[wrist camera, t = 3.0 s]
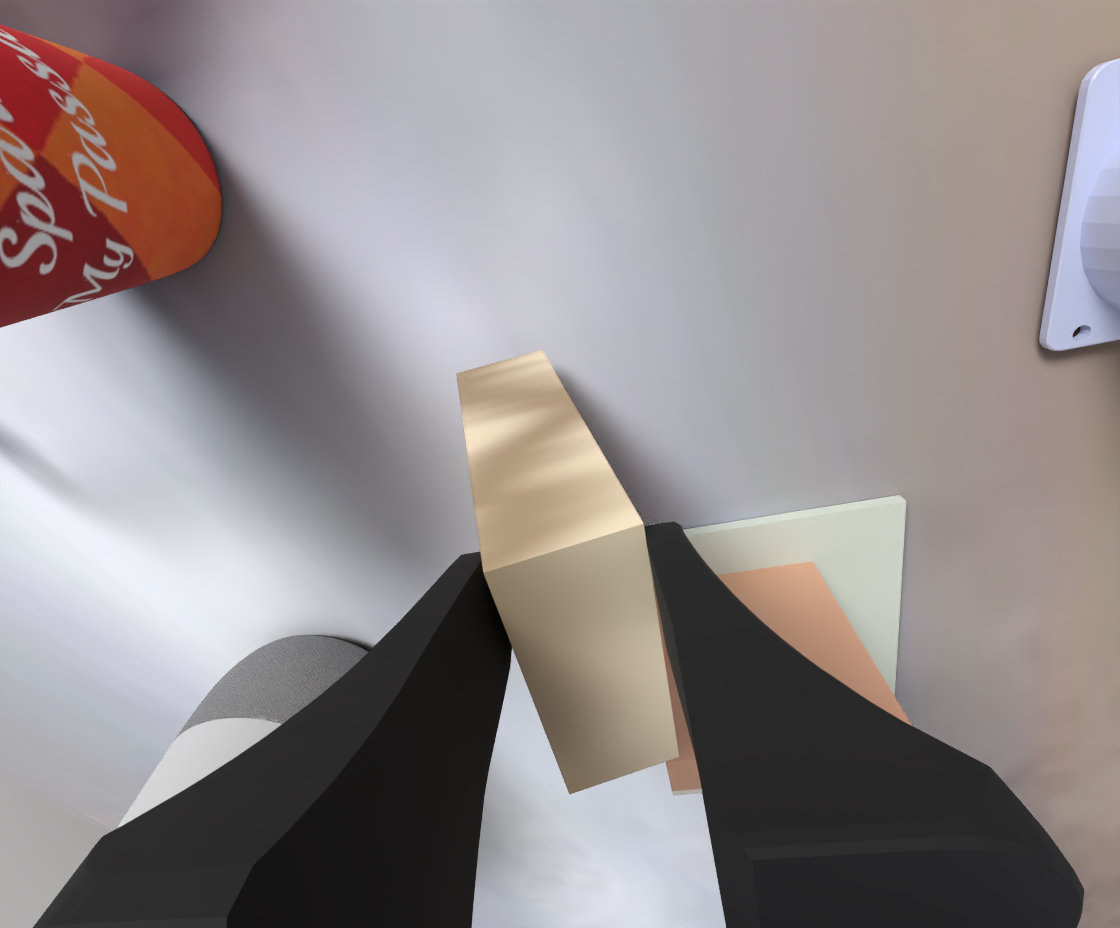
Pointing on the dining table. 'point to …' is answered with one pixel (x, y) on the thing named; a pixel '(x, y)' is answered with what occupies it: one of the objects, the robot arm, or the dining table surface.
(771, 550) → the mat
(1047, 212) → the dining table surface
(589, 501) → the light wooden block
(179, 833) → the robot arm
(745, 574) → the tile
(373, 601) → the dining table surface
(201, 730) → the smart speaker
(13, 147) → the coffee cup
